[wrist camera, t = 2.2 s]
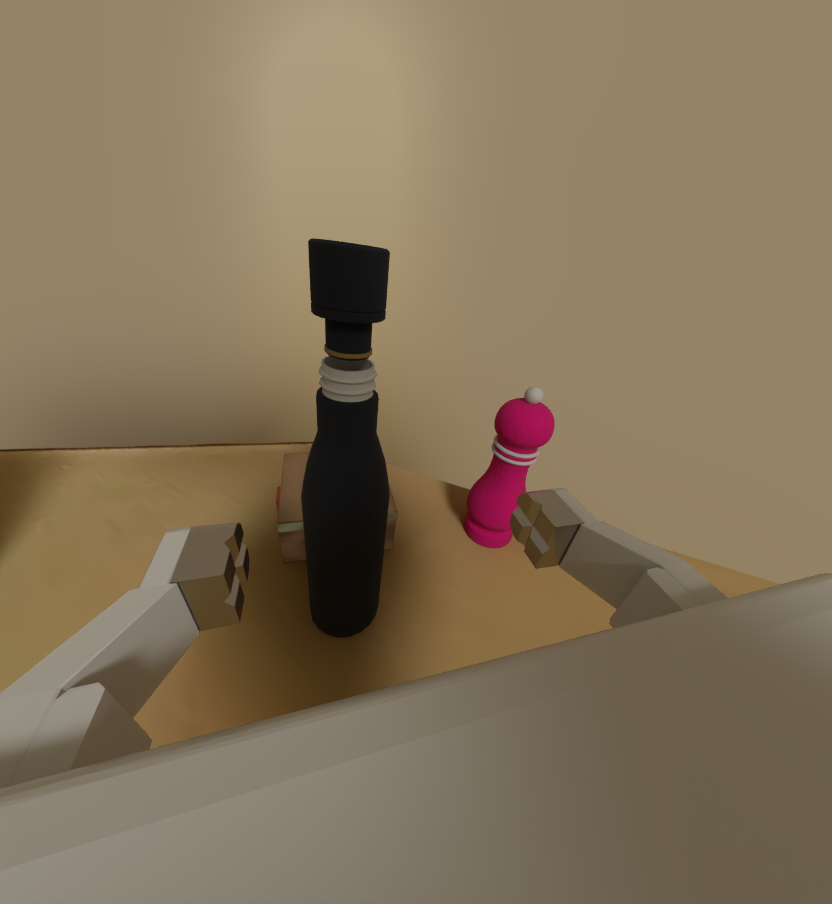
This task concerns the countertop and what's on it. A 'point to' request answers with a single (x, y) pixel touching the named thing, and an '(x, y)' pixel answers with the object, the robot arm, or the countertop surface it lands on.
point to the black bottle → (346, 441)
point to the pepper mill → (508, 468)
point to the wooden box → (292, 510)
